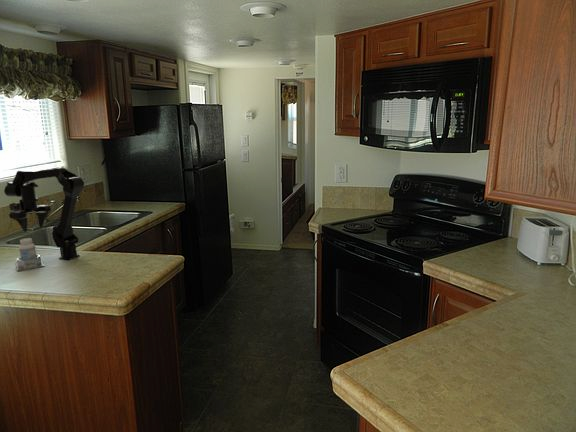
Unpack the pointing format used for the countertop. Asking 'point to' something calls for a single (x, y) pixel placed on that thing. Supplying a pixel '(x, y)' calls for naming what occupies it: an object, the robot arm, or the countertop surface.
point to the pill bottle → (27, 249)
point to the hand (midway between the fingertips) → (33, 229)
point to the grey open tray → (29, 263)
